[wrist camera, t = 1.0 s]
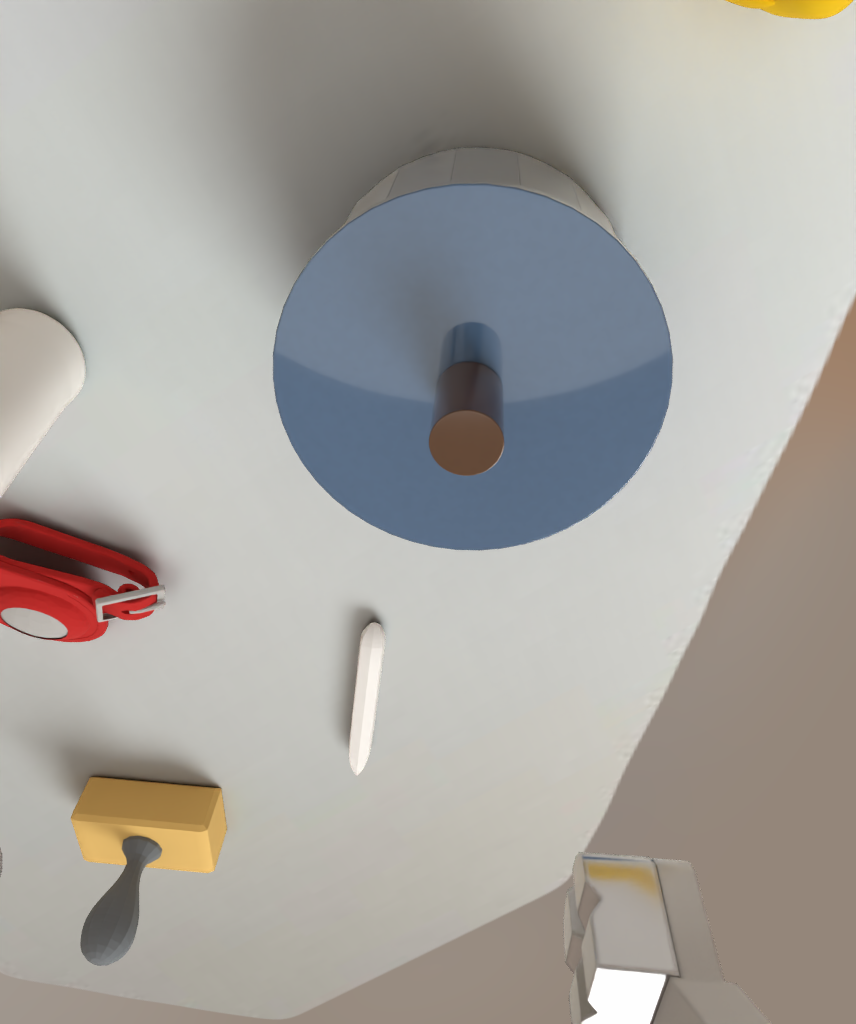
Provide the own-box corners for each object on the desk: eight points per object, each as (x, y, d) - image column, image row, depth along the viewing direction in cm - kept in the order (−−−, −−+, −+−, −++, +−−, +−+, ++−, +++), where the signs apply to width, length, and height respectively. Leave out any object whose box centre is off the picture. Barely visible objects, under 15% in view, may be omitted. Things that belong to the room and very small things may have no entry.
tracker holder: (58, 669, 53) (-93, 598, 47) (82, 610, 56) (-57, 536, 49) (174, 632, 46) (17, 544, 40) (196, 566, 49) (51, 475, 43)
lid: (266, 161, 28) (225, 198, 24) (710, 189, 27) (750, 232, 23) (289, 521, 37) (262, 596, 32) (627, 547, 36) (645, 626, 32)
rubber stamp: (102, 820, 64) (31, 977, 54) (89, 773, 61) (11, 931, 51) (227, 831, 64) (178, 991, 54) (220, 785, 61) (167, 947, 51)
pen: (348, 759, 58) (344, 778, 57) (363, 614, 50) (360, 632, 49) (369, 762, 58) (366, 781, 57) (388, 617, 50) (386, 636, 49)
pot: (319, 136, 35) (275, 181, 28) (656, 157, 34) (698, 208, 27) (327, 428, 43) (294, 520, 36) (600, 448, 42) (622, 545, 35)
